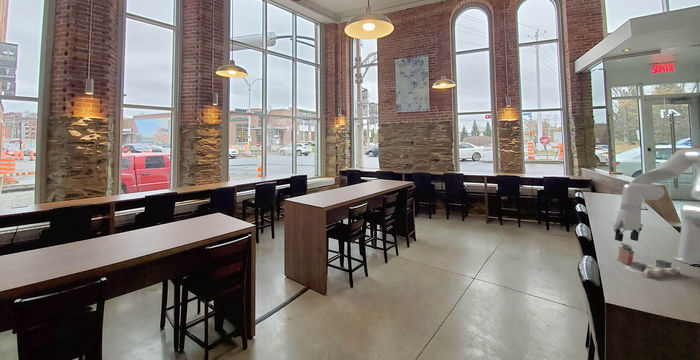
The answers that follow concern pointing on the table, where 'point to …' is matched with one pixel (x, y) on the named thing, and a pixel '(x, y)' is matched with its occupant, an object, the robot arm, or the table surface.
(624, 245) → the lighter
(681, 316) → the table surface
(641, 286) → the table surface
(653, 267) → the white base plate
